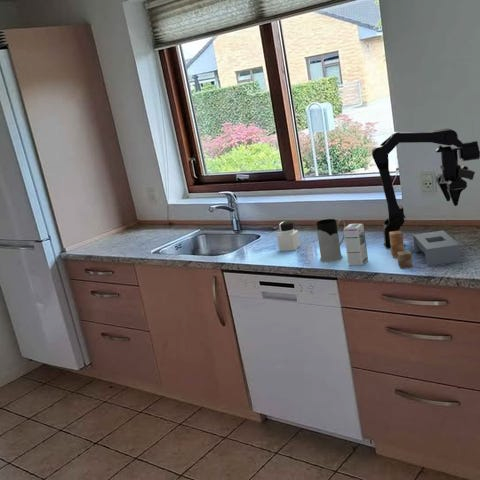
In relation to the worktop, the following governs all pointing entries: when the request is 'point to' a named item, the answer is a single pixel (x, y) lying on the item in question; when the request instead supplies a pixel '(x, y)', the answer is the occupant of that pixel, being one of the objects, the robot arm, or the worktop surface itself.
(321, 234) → the grey pitcher
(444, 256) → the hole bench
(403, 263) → the short pin
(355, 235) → the syrup box
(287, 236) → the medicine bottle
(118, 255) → the worktop surface
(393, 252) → the long pin
